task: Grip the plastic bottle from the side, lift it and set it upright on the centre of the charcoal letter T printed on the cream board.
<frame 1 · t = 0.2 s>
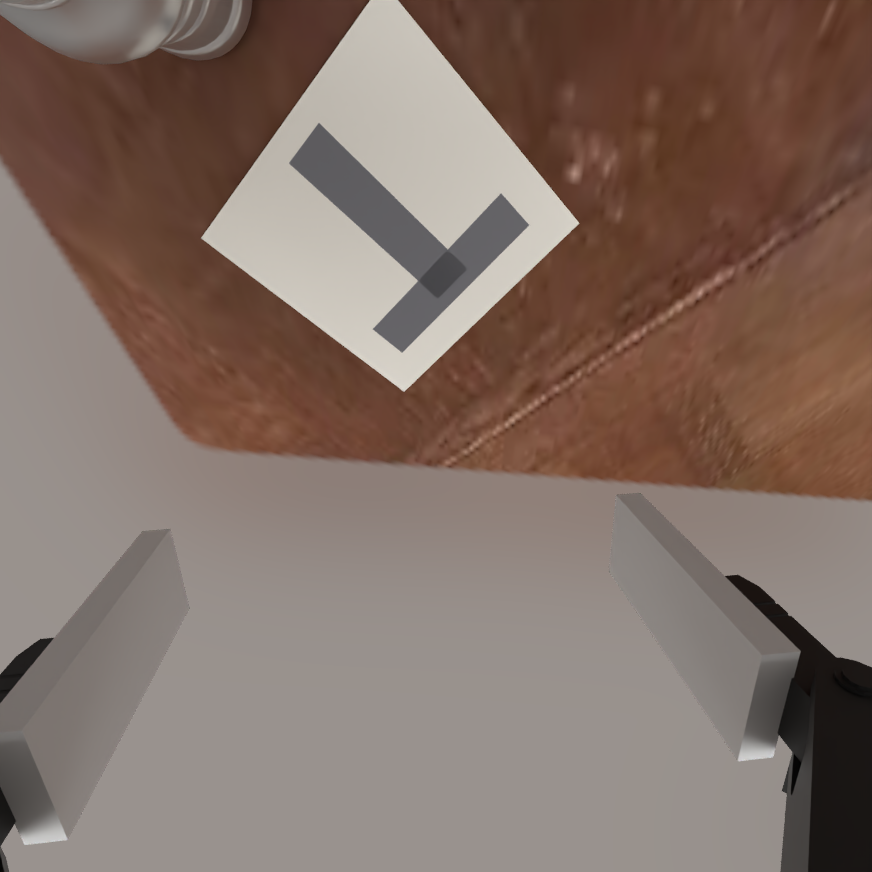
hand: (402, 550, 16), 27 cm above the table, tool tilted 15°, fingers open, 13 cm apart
letter board: (395, 228, 36), on the table
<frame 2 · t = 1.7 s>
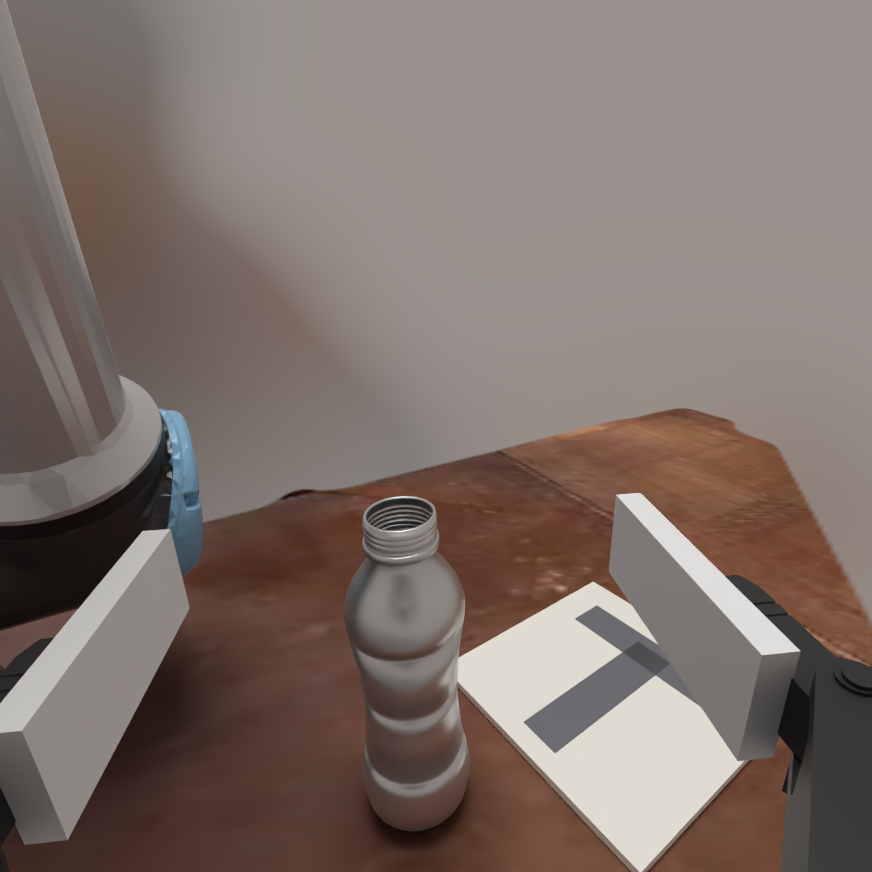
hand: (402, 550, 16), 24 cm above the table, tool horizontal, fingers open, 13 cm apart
plastic bottle: (418, 795, 33), on the table
letter board: (609, 690, 40), on the table
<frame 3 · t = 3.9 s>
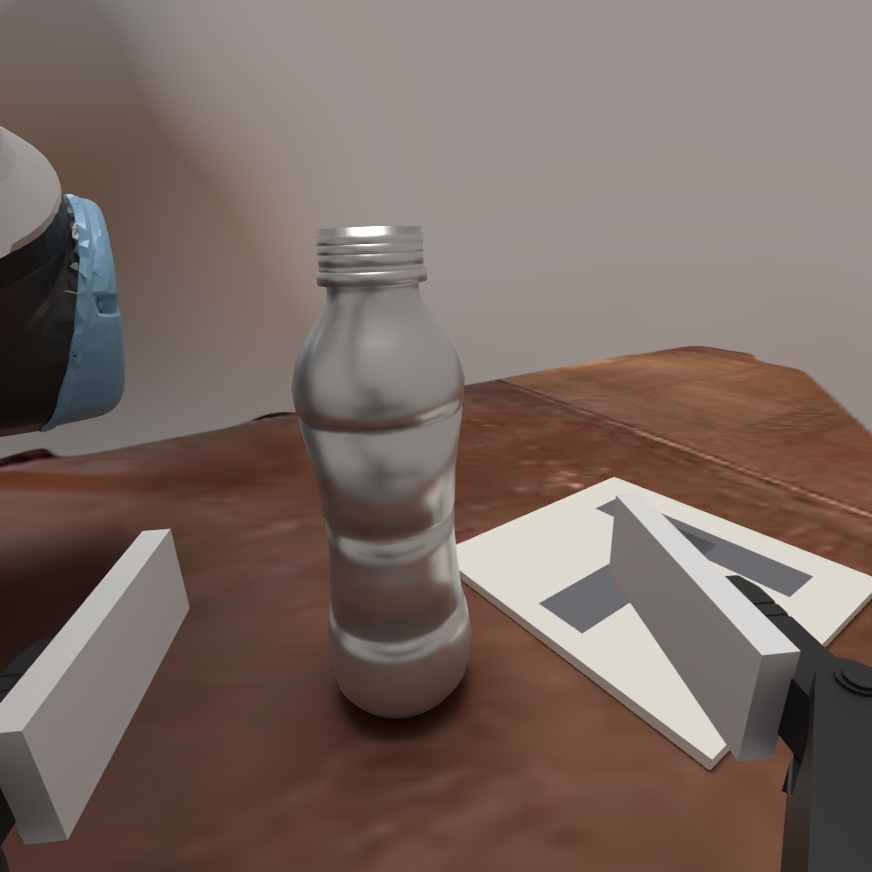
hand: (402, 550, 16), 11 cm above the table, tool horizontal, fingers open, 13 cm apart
plastic bottle: (403, 683, 25), on the table
letter board: (644, 574, 32), on the table
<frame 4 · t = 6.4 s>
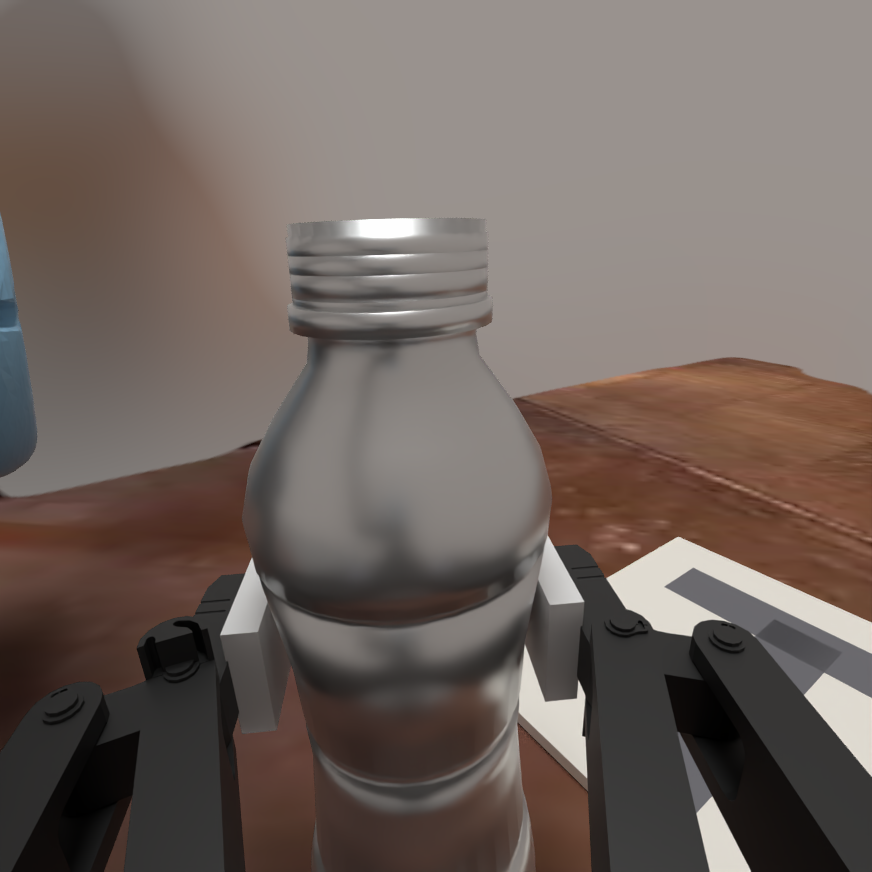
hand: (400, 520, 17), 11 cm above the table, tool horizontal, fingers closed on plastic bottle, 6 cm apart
letter board: (749, 699, 24), on the table
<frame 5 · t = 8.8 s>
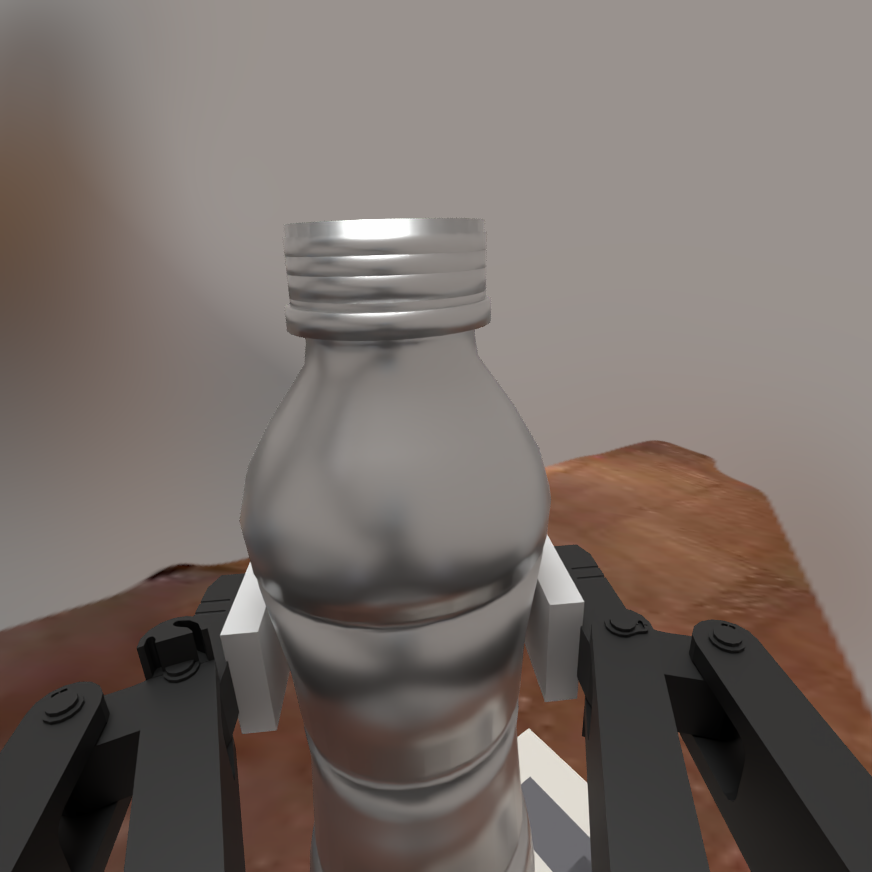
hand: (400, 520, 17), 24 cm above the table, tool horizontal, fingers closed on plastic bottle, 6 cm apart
when the fingers open (13 cm above the table, at t = 11.7 s): plastic bottle drops 1 cm, resting on letter board.
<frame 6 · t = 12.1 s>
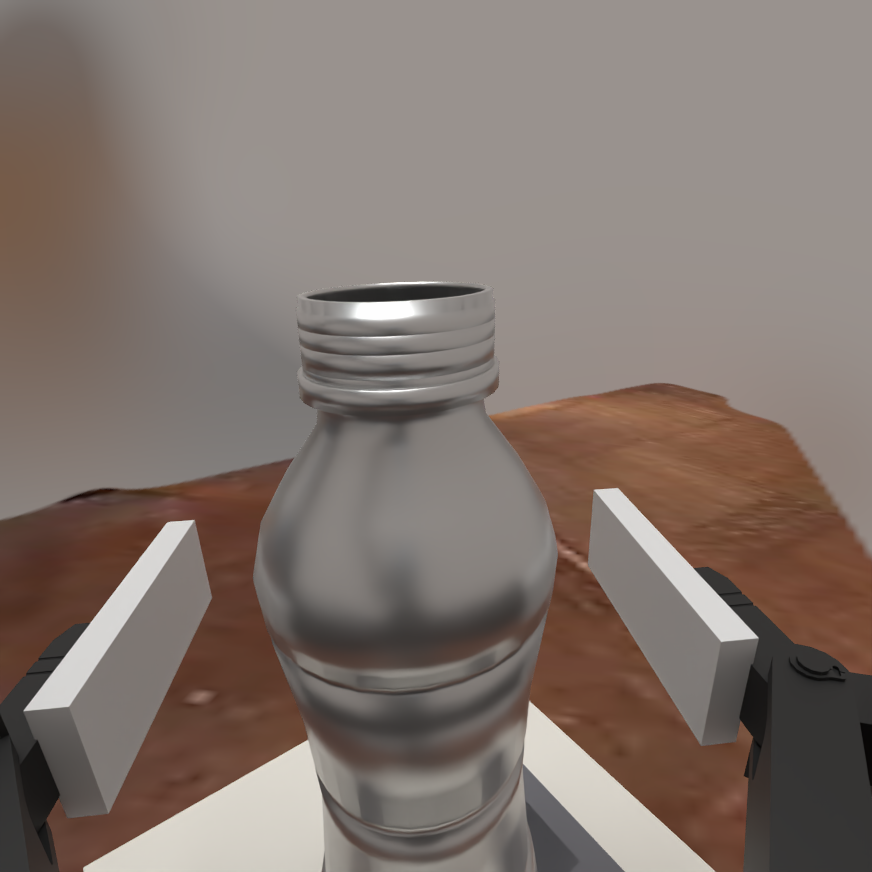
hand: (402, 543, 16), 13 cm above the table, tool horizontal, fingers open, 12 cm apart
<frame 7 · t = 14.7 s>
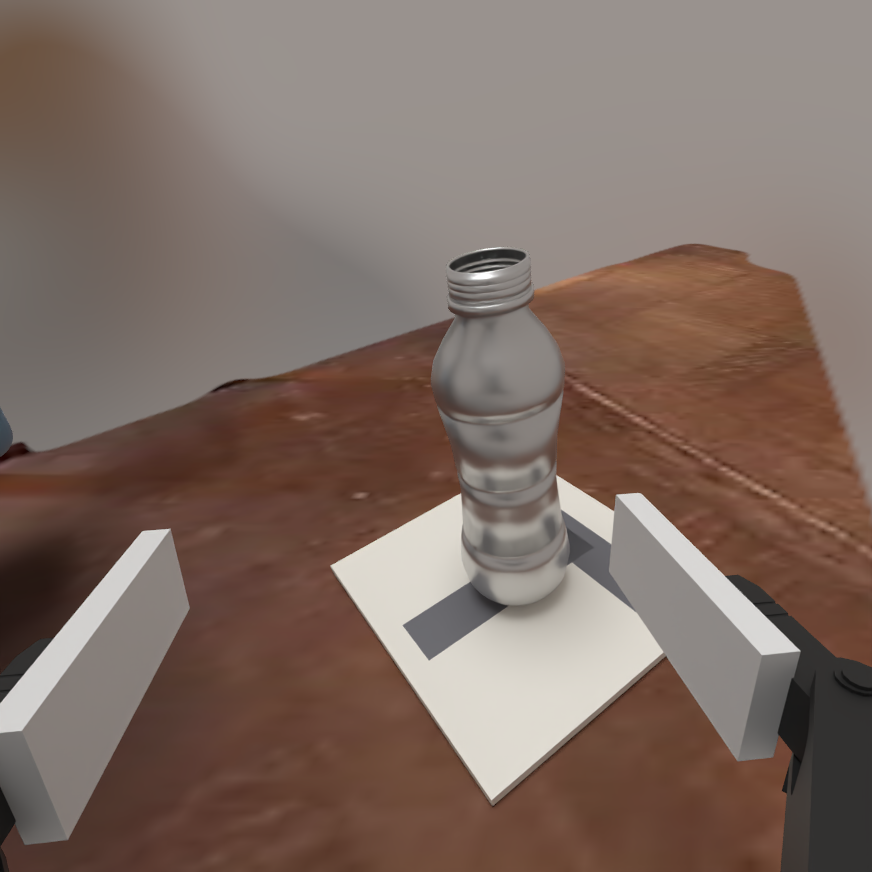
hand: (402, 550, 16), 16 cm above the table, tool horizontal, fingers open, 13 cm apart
plastic bottle: (517, 579, 34), resting on letter board
letter board: (515, 582, 34), on the table
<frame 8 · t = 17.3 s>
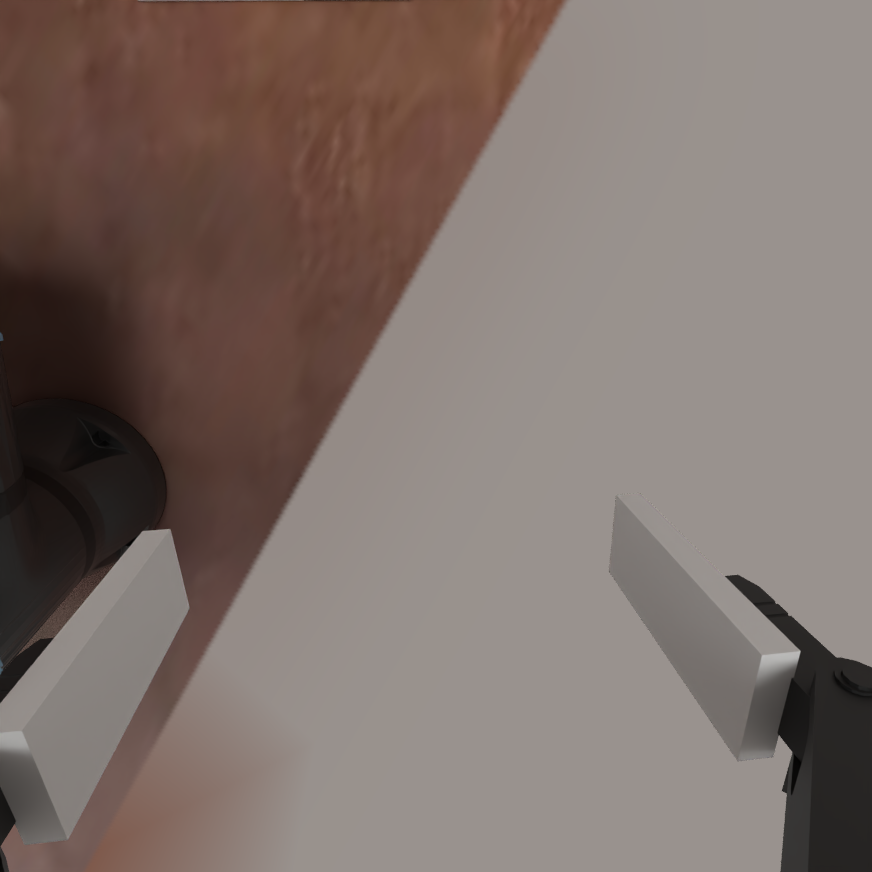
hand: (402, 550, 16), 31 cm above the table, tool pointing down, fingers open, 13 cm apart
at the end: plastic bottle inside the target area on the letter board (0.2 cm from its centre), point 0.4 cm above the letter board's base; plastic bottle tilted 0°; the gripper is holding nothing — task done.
